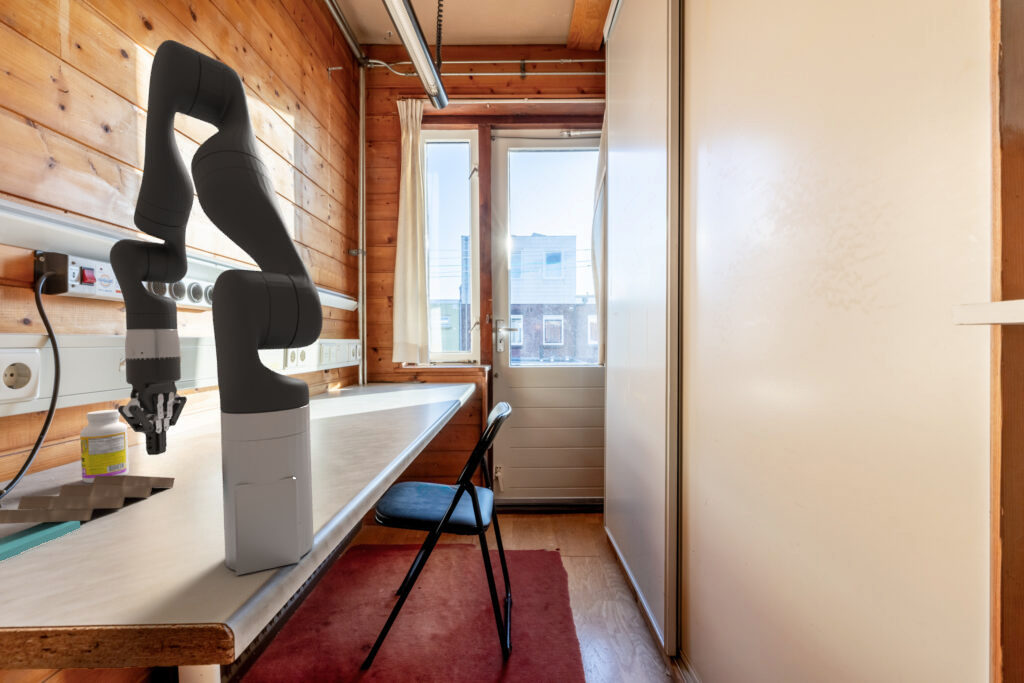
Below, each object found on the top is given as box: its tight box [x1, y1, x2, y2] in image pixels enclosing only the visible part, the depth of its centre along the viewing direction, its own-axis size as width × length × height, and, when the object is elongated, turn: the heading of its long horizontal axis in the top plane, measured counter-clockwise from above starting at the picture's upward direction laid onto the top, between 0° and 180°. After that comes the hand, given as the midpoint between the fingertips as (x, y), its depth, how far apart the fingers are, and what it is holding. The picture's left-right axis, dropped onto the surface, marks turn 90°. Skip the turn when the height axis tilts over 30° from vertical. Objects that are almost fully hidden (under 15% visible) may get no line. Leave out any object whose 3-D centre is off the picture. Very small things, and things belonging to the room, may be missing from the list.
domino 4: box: [58, 484, 153, 499], centre depth 69 cm, size 2×5×10 cm
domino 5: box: [91, 474, 176, 489], centre depth 74 cm, size 2×5×10 cm
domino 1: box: [0, 508, 94, 525], centre depth 60 cm, size 2×5×10 cm
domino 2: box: [0, 521, 81, 561], centre depth 57 cm, size 2×5×10 cm
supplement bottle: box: [79, 409, 130, 484], centre depth 85 cm, size 7×7×13 cm
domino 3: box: [17, 495, 126, 510], centre depth 64 cm, size 2×5×10 cm
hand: (156, 453), depth 79 cm, fingers closed
